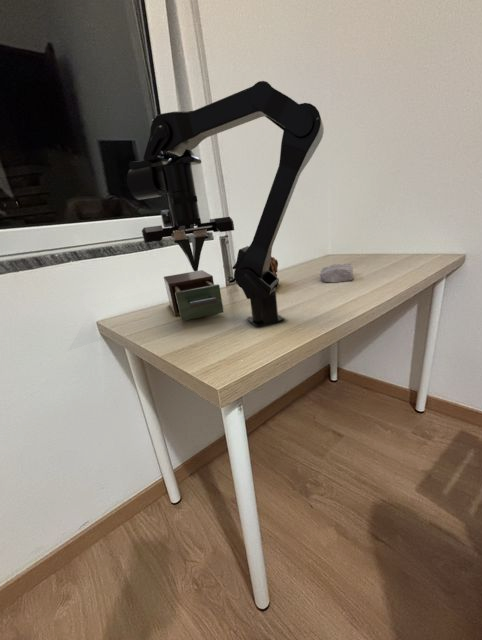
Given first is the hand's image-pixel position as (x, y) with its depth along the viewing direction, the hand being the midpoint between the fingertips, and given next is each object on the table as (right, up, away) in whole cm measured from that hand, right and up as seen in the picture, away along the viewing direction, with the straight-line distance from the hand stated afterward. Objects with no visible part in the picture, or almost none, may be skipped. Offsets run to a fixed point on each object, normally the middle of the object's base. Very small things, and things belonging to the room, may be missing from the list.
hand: (195, 270), depth 68 cm
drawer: (-1, -8, +9) cm, 12 cm away
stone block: (+40, +5, +31) cm, 51 cm away
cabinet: (-4, -5, +20) cm, 21 cm away
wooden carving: (+20, +2, +31) cm, 36 cm away
